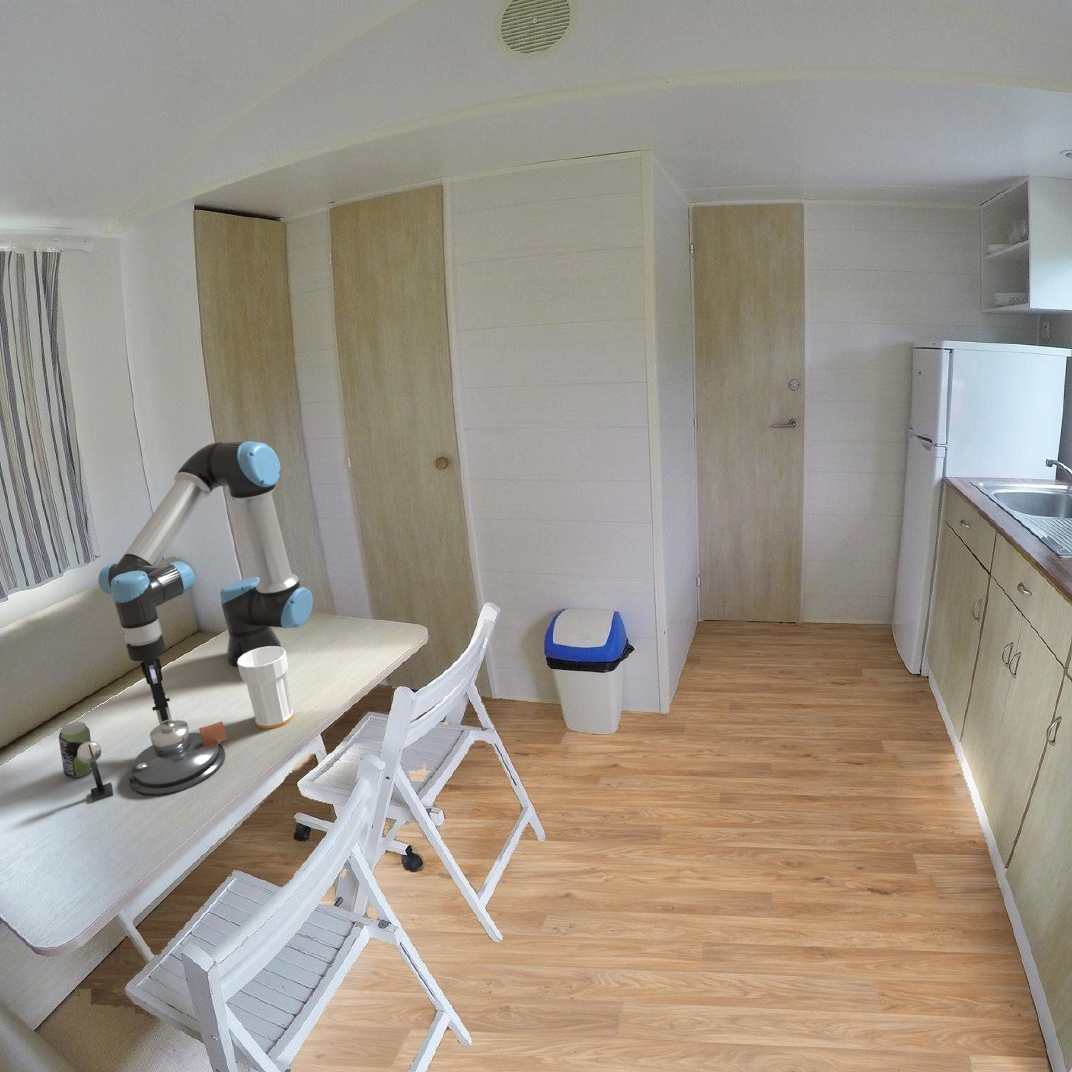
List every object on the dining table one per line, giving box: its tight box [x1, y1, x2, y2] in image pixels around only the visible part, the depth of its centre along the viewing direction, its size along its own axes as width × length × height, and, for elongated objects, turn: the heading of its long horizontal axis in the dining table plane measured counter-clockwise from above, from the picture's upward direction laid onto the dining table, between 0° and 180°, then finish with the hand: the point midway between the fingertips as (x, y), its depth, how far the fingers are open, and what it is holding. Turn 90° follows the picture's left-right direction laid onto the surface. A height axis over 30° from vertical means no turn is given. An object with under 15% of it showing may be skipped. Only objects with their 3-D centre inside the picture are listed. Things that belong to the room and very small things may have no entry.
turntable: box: [131, 720, 228, 788], centre depth 173 cm, size 18×20×6 cm
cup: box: [237, 646, 294, 730], centre depth 189 cm, size 11×11×17 cm
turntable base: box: [128, 742, 226, 797], centre depth 174 cm, size 20×20×1 cm
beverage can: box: [58, 721, 92, 778], centre depth 174 cm, size 6×7×12 cm
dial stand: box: [77, 740, 114, 803], centre depth 165 cm, size 4×4×13 cm
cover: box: [149, 720, 191, 755], centre depth 177 cm, size 8×8×6 cm
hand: (167, 730), depth 181 cm, fingers closed
